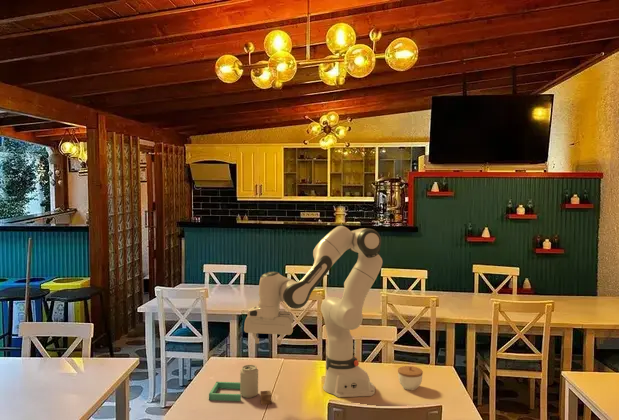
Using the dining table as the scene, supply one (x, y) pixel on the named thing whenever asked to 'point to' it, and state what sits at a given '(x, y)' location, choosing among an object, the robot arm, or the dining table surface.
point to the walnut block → (265, 397)
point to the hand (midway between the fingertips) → (268, 343)
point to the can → (249, 381)
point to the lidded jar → (410, 377)
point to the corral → (225, 397)
